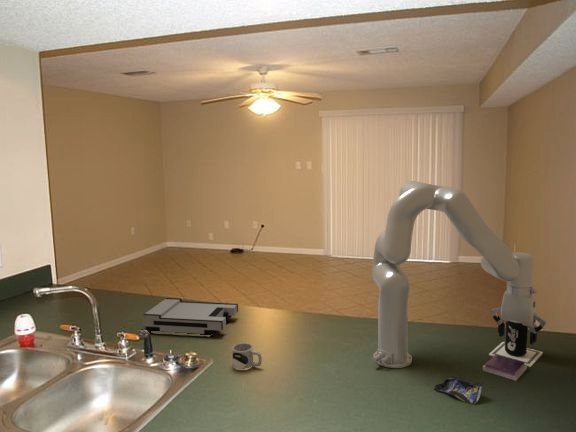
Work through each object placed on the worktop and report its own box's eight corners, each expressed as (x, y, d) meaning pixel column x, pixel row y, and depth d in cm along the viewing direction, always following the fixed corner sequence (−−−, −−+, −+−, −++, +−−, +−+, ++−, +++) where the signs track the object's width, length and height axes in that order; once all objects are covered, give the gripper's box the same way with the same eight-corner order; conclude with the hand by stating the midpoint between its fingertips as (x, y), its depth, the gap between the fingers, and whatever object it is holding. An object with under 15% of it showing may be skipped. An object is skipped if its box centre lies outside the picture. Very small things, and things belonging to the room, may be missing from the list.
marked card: (530, 367, 147) (530, 365, 147) (488, 355, 156) (488, 353, 156) (542, 353, 156) (543, 351, 156) (502, 342, 165) (502, 341, 165)
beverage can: (528, 358, 152) (530, 323, 150) (507, 356, 153) (509, 322, 152) (523, 349, 158) (524, 315, 157) (502, 348, 160) (503, 315, 158)
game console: (222, 339, 175) (221, 319, 173) (144, 335, 181) (142, 315, 180) (238, 319, 195) (237, 300, 194) (167, 316, 201) (166, 297, 200)
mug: (229, 369, 151) (228, 350, 150) (238, 360, 157) (237, 341, 156) (257, 373, 147) (257, 354, 146) (265, 364, 153) (265, 345, 152)
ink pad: (516, 380, 139) (516, 374, 138) (482, 370, 146) (482, 364, 145) (526, 368, 146) (527, 362, 146) (494, 359, 153) (494, 353, 152)
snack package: (445, 407, 126) (487, 404, 127) (443, 384, 127) (485, 381, 127) (430, 392, 138) (469, 389, 139) (429, 370, 139) (467, 367, 139)
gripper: (551, 292, 149) (548, 342, 152) (496, 282, 161) (494, 329, 164) (544, 298, 144) (541, 350, 147) (488, 287, 156) (486, 335, 158)
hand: (516, 339), depth 155 cm, fingers open, 9 cm apart
